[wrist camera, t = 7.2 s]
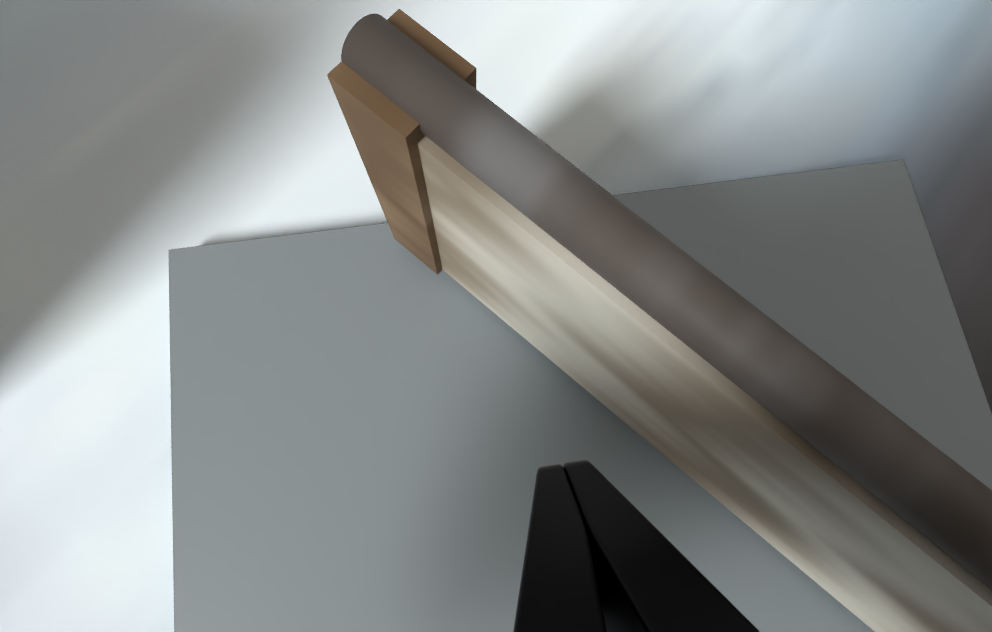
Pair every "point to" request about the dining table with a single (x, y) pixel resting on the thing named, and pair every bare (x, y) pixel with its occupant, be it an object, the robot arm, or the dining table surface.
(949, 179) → the dining table surface
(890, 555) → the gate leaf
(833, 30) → the dining table surface
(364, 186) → the dining table surface
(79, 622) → the dining table surface
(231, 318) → the board
